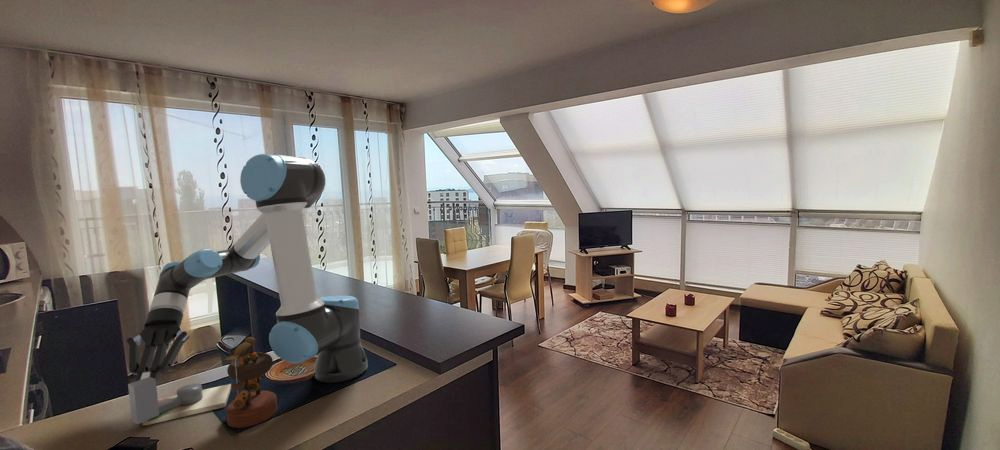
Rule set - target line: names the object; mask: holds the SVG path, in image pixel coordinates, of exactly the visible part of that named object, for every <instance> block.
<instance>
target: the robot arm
mask: <svg viewBox="0 0 1000 450" xmlns="http://www.w3.org/2000/svg"><path fill="white" fill-rule="evenodd" d="M239 179H240V180H239V181H240V187H241V190H242V191H243V192H242V193H244V194H245V195H246V197H247V198H249V199H251V200H252V201H254V202H255V207H256V209H257V211H259V212H260V213H261V214H260V215H259V216H258V217H257V219H255V220H254V222H253V223H252V224H251V225H250V226H249V227H248V229H246V231H245V232H244V233H243V234H242V235H240V237H239V238H238V239H237V240H236V241H235V242H234V244H233V245H232V246H231V247H230V248H228V249H224V250H219V251H216V250H213V249H208V248H202V249H199V250H197V251H196V252H193V253H191V254H189V255H188V256H187V257H186V258H185V259H183V260H182V261H179V260H175V261H173V262H172V261H171V262H167V263H166V264H165V265H164V266H163V268H162V269H161V272H160V274H159V277H158V282H157V283H156V284H157V285H156V287H155V291H154V294H153V298H152V301H151V304H150V306H149V309H148V313H147V315H146V319H145V321H144V327H143V329H142V330H141V331H140V332H139V335H136V336H134V337H128V338H127V339H126V343H128V346H129V355H128V356H129V360H128V361H129V362H128V364H129V367H128V371H129V372H130V373H131V374H132V375H134V376H136V379H135V382H136V381H139V380H142V379H145V378H147V377H152V378H154V379H156V385H157V384H158V380H159V377H160V374H161V373H162V372H167V371H168V372H169V370H170V369H171V368H172V366H173V364H174V362H175V360H176V359H177V356H178V354H179V353H180V351H181V349H182V347H183V345H184V343H185V342H187V341H188V339H190V335H189V333H188V332H187V331H185V330H184V331H182V329H181V325H182V320H183V318H184V314H185V309H186V306H187V301H188V297H189V295H190V292H191V289H192V288H194V287H196V286H197V285H199V284H201V282H203V281H206V280H209V279H213V278H217V277H222V276H226V275H229V274H235V273H239V272H246V271H249V270H251V269H254V268H255V267H257V266H258V265H259V264H260V260H261V255H260V254H262V252H263V251H265V249H266V248H267V247H268V246H270V250H271V254H272V255H271V256H272V261H273V266H274V273H275V278H276V283H277V284H276V285H277V288H278V294H279V295H278V296H279V300H280V307H279V308H278V310H277V311H276V312H275V318H276V324H275V325H273V327H271V331H270V332H269V334H268V335H269V336H268V342H269V345H270V347H271V350H272V351H273V353H274V354H275V355H276V356H277V357H278V358H280V359H281V360H282V361H283V362H286V363H288V364H300V363H303V362H306V361H307V360H310V359H313V358H314V357H315V356H316V360H315V362H314V367H313V372H314V371H315V373H316V375H315V377H314V379H315V380H316V381H318V382H322V383H329V384H330V383H340V382H346V381H348V380H351V379H355V378H357V377H359V376H360V374H361V375H362V374H364V373H365V372H366V371H367V369H368V364H369V363H368V358H367V355H366V353H365V350H364V348H363V346H362V343H361V328H360V327H361V325H360V306H359V300H358V298H356V296H351V295H328V296H322V297H319V298H318V296H317V289H316V283H315V278H314V272H313V267H312V260H311V255H310V248H309V245H308V244H309V243H308V238H307V236H308V235H307V231H306V225H305V220H304V219H305V218H304V214H303V210H304V209H309V208H311V207H312V206H313V205H314V204H315V203H316V201H318V199H319V198H320V197H321V196H322V194H323V193H324V190H325V189H326V188H325V187H326V176H325V173H324V171H323V168H321V166H320V165H319V164H318V163H317V162H315V160H313V159H310V158H307V157H301V156H290V155H285V154H284V155H283V154H277V153H260V154H257V155H253V156H252V157H250V158H249V159H248V160H247V161H246V162H245V165H244V166H243V167H242V169H241V172H240V178H239ZM173 340H174V341H173ZM142 341H143V342H144V350H143V353H142V356H141V349H140V345H141V343H142ZM172 341H173V343H172V344H171V346H170V347H169V345H170V343H171V342H172ZM167 350H168V352H167ZM140 356H141V357H140ZM365 370H366V371H365ZM364 371H365V372H364ZM363 372H364V373H363ZM358 375H359V376H358Z"/></svg>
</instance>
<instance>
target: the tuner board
mask: <svg viewBox="0 0 1000 450" xmlns="http://www.w3.org/2000/svg"><path fill="white" fill-rule="evenodd" d="M231 390H232V383H228V384H223V385H219V386H215V387H209V388H205V389H202V395H203V397H202V399H201V400H199V401H198V402H195V403H193V404H190V405H184V406H180V405H179V406H176V407H174V408H172V409H169V410H167V411H164V412H162V413H160V414H159V416H156V417H154V418H151V419H149V420H147V421H144V422H142V423H141V424H142V426H143V427H145V425H146V426H149V425H152V424H157V423H162V422H167V421H170V420H174V419H179V418H184V417H188V416H192V415H196V414H201V413H205V412H209V411H213V410H214V411H215V410H219V409H223V408H226V407H227V403H228V400H229V396H230V393H231ZM175 397H177V394H176V395H171V396H167V397H162V398H158V404H160V403H163V402H165V401H168V400H170V399H173V398H175Z"/></svg>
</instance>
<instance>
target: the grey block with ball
mask: <svg viewBox="0 0 1000 450" xmlns="http://www.w3.org/2000/svg"><path fill="white" fill-rule="evenodd" d="M127 386H128V396H129V397H128V398H129V404H130V405H129V406H130V407H129V408H130V416H131V421H132V422H133V423H135V424H137V425H139V424H142V422H144V421H147V420H149V419H151V418H154V417H156V416H159V414H160V413H162V412H164V411H167V410H169V409H172V408H174V407H176V406H179V405H180V406H184V405H190V404H193V403H195V402H198V401H199V400H201V399H202V397H203V395H202V390H203V386H202V384H201V383H197V382H196V383H191V384H186V385H184V386H182V387H179V388H178V389H177V390H176V395H177V397H175V398H173V399H170V400H168V401H165V402H163V403H160V404H158V399H159V398H158V389H157V384H156V379H154V378H152V377H147V378H145V379H142V380H139V381H136V380H135V381H133V382H131V383H128V384H127Z"/></svg>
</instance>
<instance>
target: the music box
mask: <svg viewBox="0 0 1000 450" xmlns="http://www.w3.org/2000/svg"><path fill="white" fill-rule="evenodd" d="M256 343H257V342H256V338H255V337H254V336H249V337H246V338H245V339H244V341H243V342H242V343H240V344H238V345H236V347H235V348H233V350H232V351H231V352H230V353H229V356H227V357H226V358H224V359H223V361H224V362H226V361H228V362H230V363H229V365H228V366H227V375H228V376H229V378H231V379H232V380H235V381H237V382H235V384H233V385H231V388H232V392H237V394H236V395H235V398H234V399H233V400H232V401H231V402H230V403H229V404H228V405H226V407H225V408H226V409H225V414H226V424H227V425H228V426H229V427H231V428H237V429H238V428H239V429H240V428H249V427H251V426H255V425H258V424H260V423H263V422H265V421H267V420H268V419H270V418H271V417H273V416H274V415H275V414H276V413H277V410H278V399H277V394H275V392H273V391H269V390H261V383H260V382H261V381H262V380H263V379H264V378H265V376H264V375H265V374H267V373H268V372H269V371H270V370H271V368H272V366H273V364H274V361H273V357H272V356H271V355H270V354H268V353H266V352H256V351H253V350H255V345H256ZM252 351H253V352H252ZM251 352H252V353H251ZM242 388H243V389H242ZM240 389H242V390H240ZM239 390H240V392H239Z"/></svg>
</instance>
